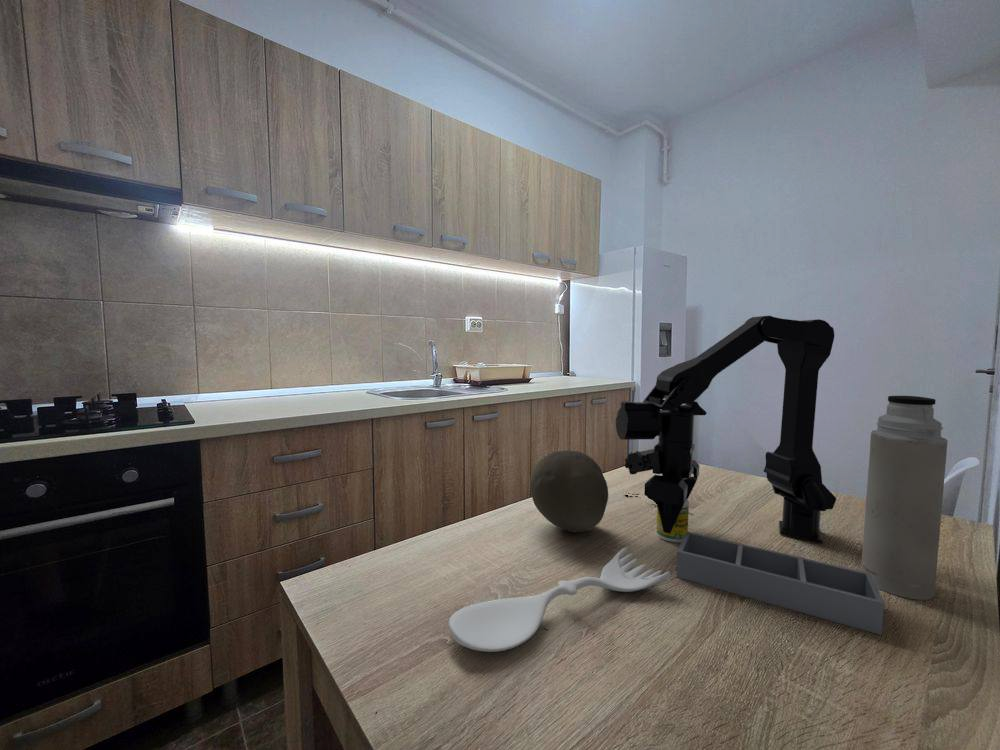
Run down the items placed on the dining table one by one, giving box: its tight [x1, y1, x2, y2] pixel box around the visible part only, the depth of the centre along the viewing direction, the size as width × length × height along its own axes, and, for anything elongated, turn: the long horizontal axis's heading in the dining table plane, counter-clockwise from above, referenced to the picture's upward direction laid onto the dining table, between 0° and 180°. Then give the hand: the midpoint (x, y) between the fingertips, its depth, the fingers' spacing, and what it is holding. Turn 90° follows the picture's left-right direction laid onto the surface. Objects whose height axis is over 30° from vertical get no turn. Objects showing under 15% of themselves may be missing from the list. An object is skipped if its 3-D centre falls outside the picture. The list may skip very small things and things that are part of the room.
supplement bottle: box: [656, 499, 690, 543], centre depth 77 cm, size 5×5×10 cm
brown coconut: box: [529, 450, 609, 533], centre depth 79 cm, size 14×14×15 cm
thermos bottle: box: [860, 395, 948, 601], centre depth 62 cm, size 8×8×28 cm
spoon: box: [448, 547, 671, 653], centre depth 56 cm, size 9×32×4 cm, turn 120°
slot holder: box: [676, 531, 885, 636], centre depth 61 cm, size 8×23×4 cm, turn 57°
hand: (672, 523), depth 77 cm, fingers open, 9 cm apart
